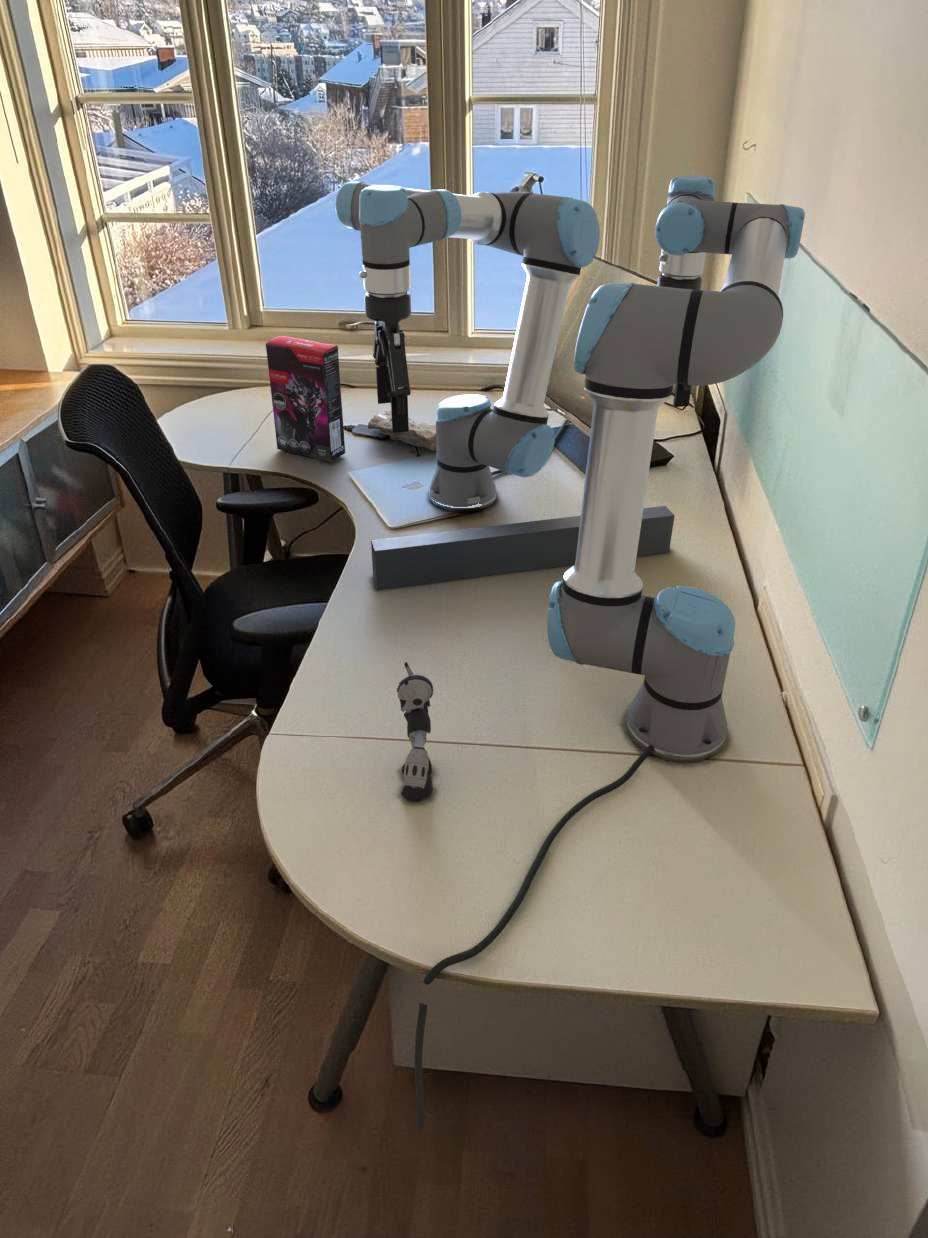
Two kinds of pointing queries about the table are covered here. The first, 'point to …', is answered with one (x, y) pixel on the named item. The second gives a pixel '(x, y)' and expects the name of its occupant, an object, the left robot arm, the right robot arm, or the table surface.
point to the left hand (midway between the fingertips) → (392, 416)
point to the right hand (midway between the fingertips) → (664, 393)
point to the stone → (416, 435)
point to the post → (497, 549)
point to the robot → (416, 734)
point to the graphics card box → (306, 397)
